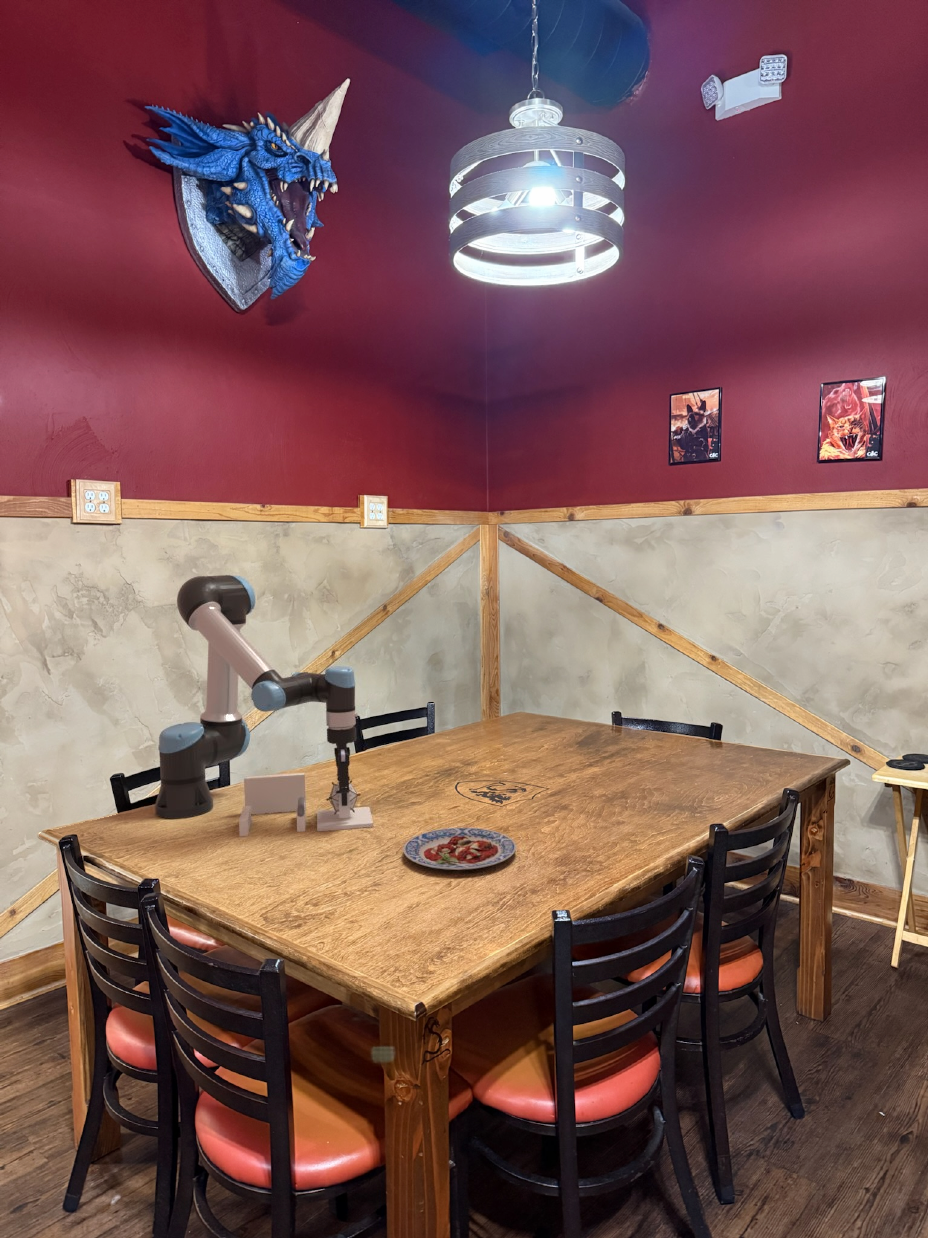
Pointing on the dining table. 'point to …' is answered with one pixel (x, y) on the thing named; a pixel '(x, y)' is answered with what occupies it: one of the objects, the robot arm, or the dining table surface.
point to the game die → (335, 797)
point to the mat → (344, 819)
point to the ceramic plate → (459, 848)
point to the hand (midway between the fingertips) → (343, 811)
